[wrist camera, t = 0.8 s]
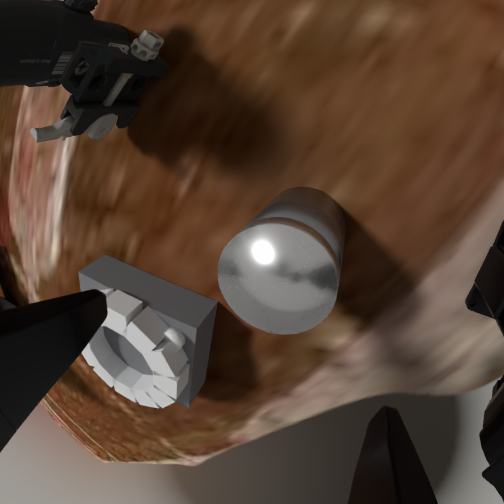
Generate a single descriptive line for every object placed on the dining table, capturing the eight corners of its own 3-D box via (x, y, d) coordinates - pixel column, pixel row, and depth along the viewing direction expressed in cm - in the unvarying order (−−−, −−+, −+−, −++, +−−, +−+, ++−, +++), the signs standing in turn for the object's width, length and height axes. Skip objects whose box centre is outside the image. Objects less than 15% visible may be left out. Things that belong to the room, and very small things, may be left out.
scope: (-58, 187, 8) (-81, 84, 7) (121, 137, 20) (63, 67, 19) (-19, 12, 4) (-40, -37, 3) (189, 47, 16) (114, -12, 15)
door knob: (357, 202, 17) (356, 249, 11) (331, 276, 19) (314, 348, 13) (274, 176, 18) (227, 208, 12) (257, 251, 20) (210, 310, 14)
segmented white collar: (218, 298, 23) (182, 344, 18) (204, 383, 27) (178, 425, 23) (105, 251, 25) (60, 280, 20) (113, 337, 30) (81, 368, 25)
